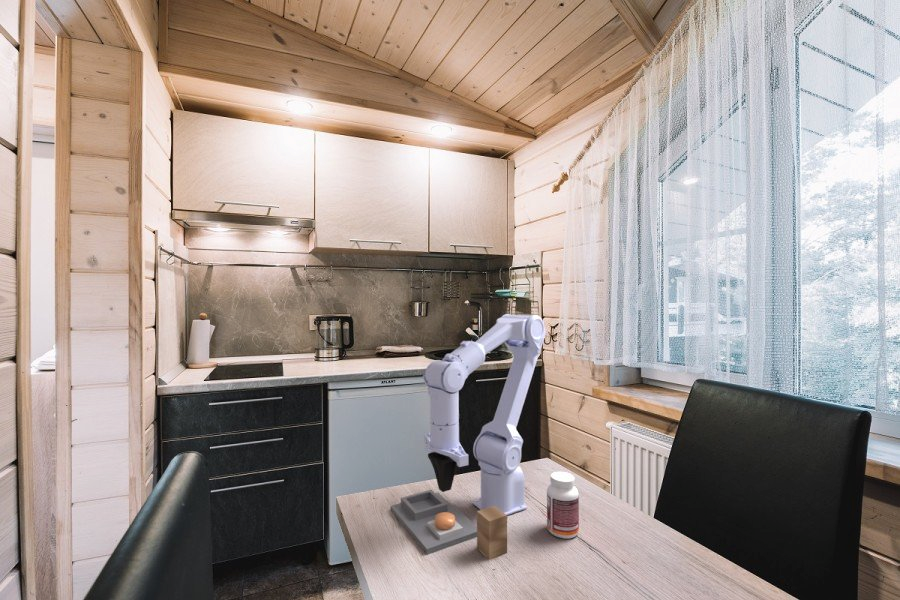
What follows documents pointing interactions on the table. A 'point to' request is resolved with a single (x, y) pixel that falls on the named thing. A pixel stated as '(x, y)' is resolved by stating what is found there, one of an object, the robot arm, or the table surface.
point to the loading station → (432, 521)
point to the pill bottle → (562, 506)
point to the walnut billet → (492, 532)
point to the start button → (444, 520)
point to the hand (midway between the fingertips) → (445, 489)
